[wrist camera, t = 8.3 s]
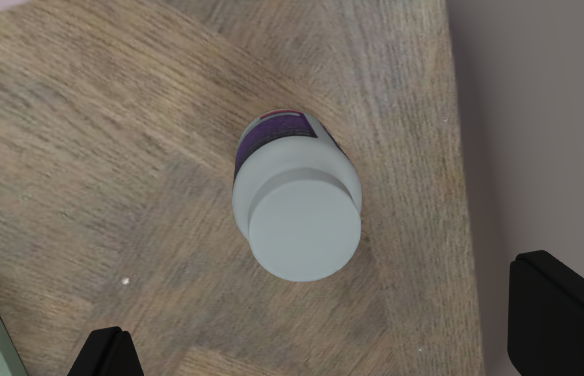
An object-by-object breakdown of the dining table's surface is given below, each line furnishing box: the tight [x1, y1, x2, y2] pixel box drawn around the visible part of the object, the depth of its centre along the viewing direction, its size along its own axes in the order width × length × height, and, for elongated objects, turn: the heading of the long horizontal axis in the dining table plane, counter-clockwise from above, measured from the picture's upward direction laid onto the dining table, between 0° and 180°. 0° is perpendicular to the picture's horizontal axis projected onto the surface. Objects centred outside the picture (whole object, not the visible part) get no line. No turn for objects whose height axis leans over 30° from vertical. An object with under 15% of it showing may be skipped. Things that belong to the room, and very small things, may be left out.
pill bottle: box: [232, 109, 362, 282], centre depth 19 cm, size 5×5×10 cm
